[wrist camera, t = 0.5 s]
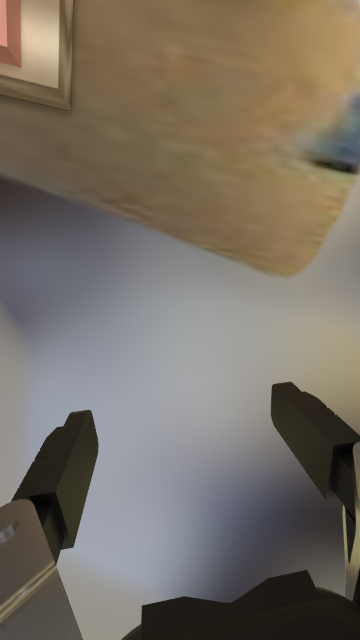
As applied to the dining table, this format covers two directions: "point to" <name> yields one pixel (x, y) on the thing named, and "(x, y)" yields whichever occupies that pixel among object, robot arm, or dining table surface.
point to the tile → (10, 32)
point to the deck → (42, 55)
